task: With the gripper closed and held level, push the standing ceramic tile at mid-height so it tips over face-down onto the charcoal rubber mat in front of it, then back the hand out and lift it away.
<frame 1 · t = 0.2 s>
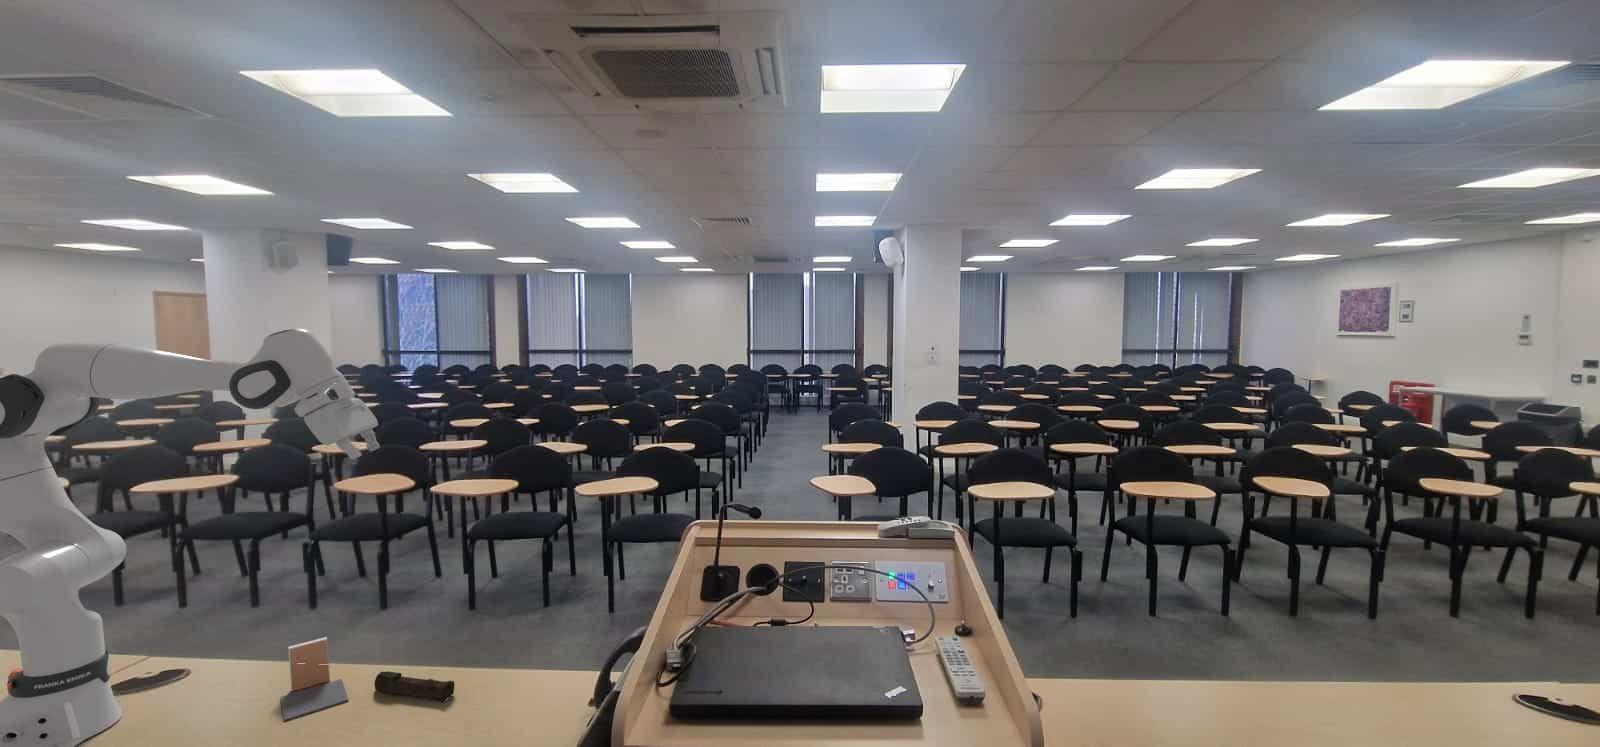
hand: (366, 453, 141), 54 cm above the table, tool tilted 30°, fingers open, 8 cm apart
mat: (314, 699, 143), on the table
tile: (310, 685, 149), on the table
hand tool: (410, 697, 144), on the table
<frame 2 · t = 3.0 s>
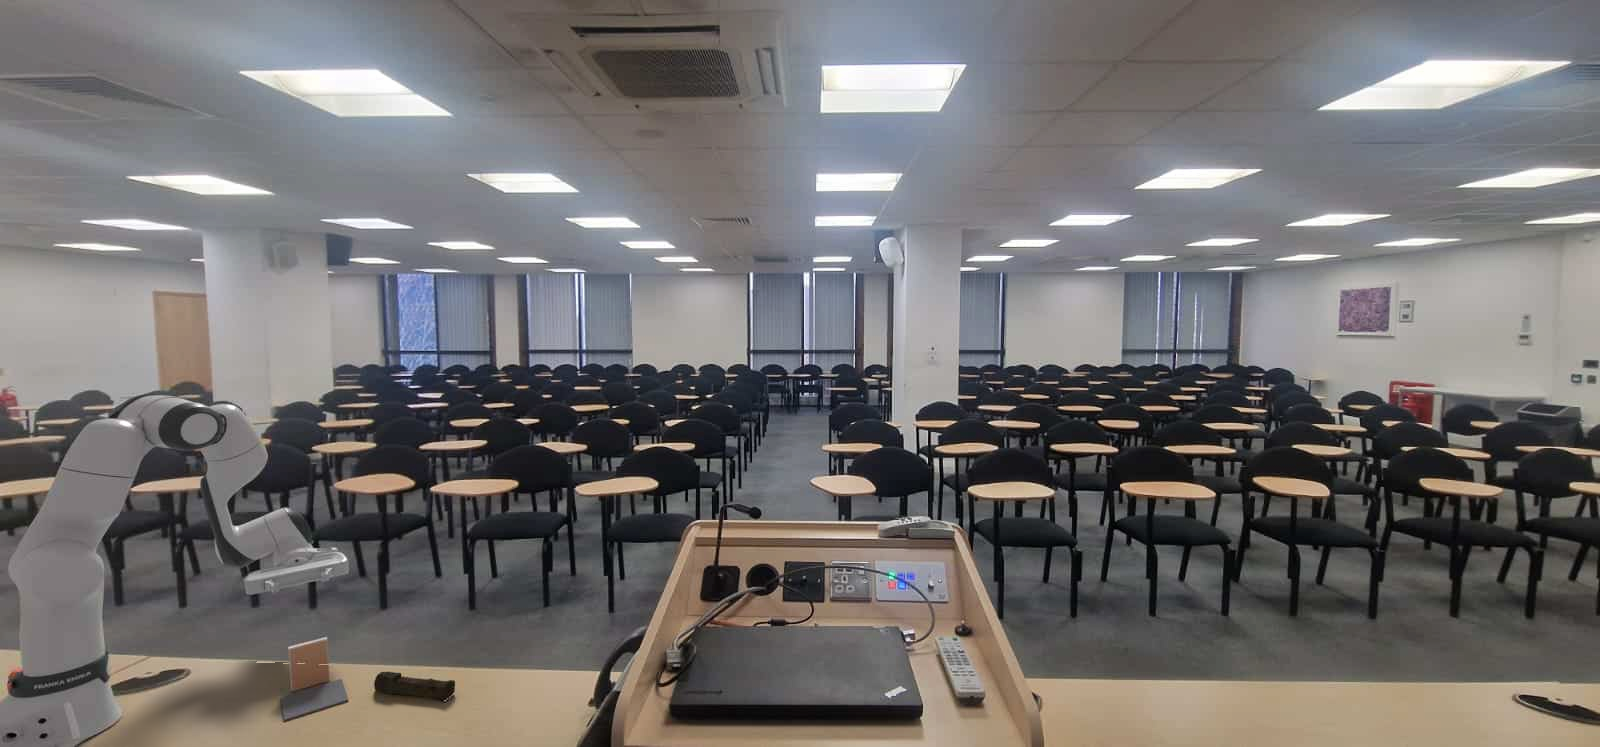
hand: (300, 583, 156), 20 cm above the table, tool horizontal, fingers open, 8 cm apart
nothing on the table moved.
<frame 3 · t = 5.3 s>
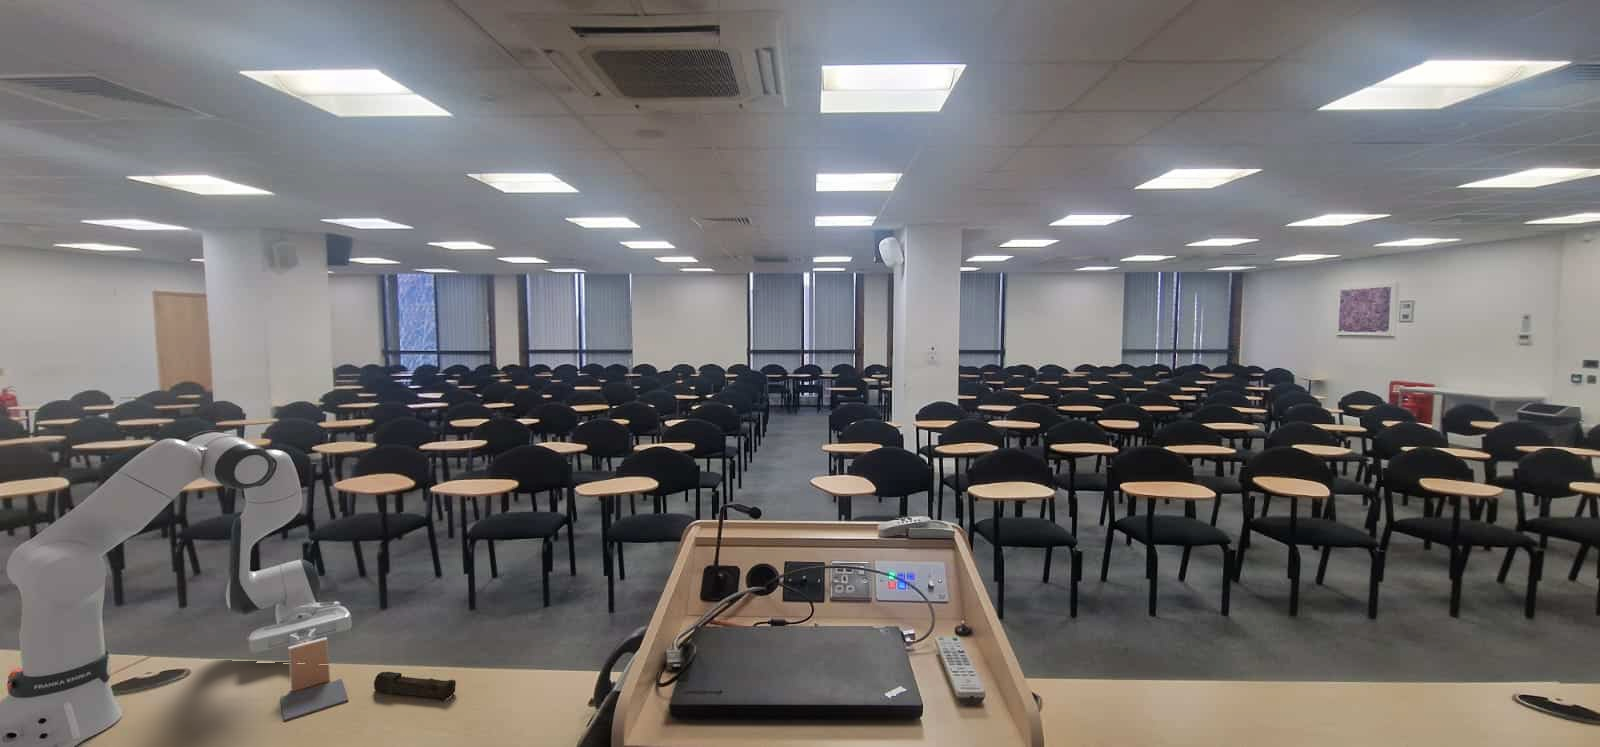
hand: (304, 641, 157), 6 cm above the table, tool horizontal, fingers closed
nothing on the table moved.
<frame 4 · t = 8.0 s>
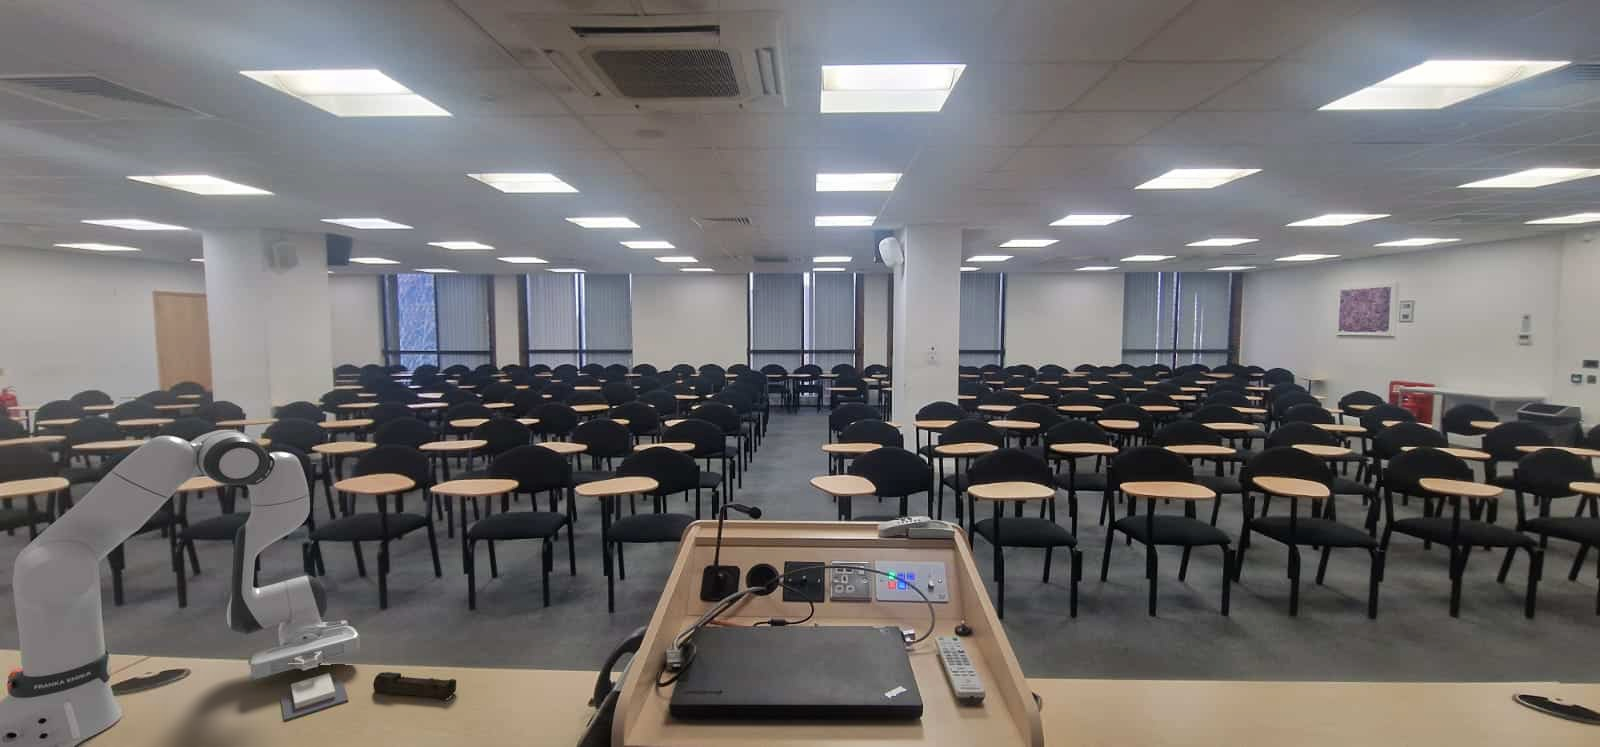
hand: (310, 665, 147), 6 cm above the table, tool horizontal, fingers closed
tile: (310, 681, 148), point 1 cm above the table, tilted 90°, touching mat
everything else where it was.
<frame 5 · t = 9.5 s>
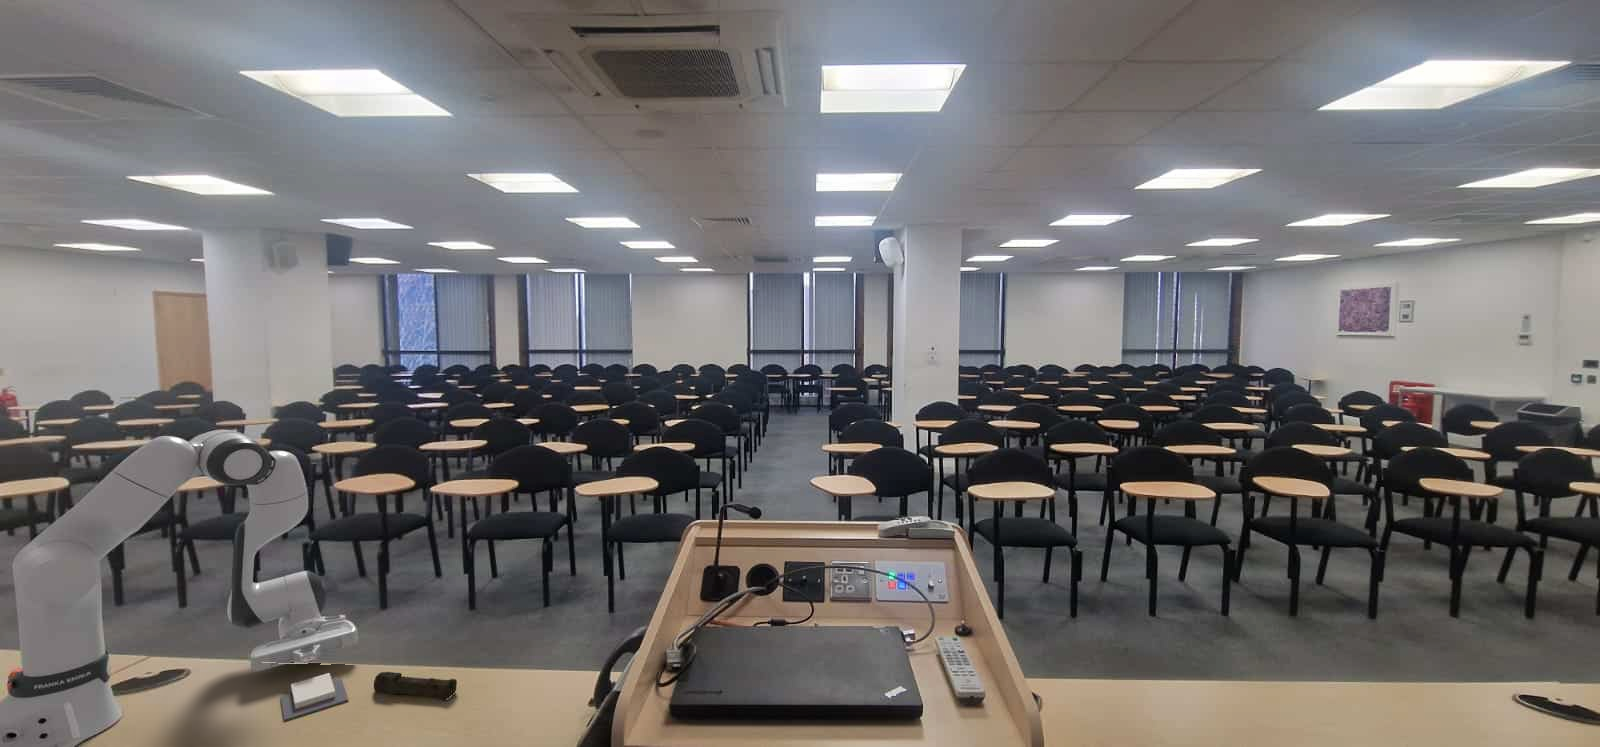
hand: (308, 658, 149), 6 cm above the table, tool horizontal, fingers closed
nothing on the table moved.
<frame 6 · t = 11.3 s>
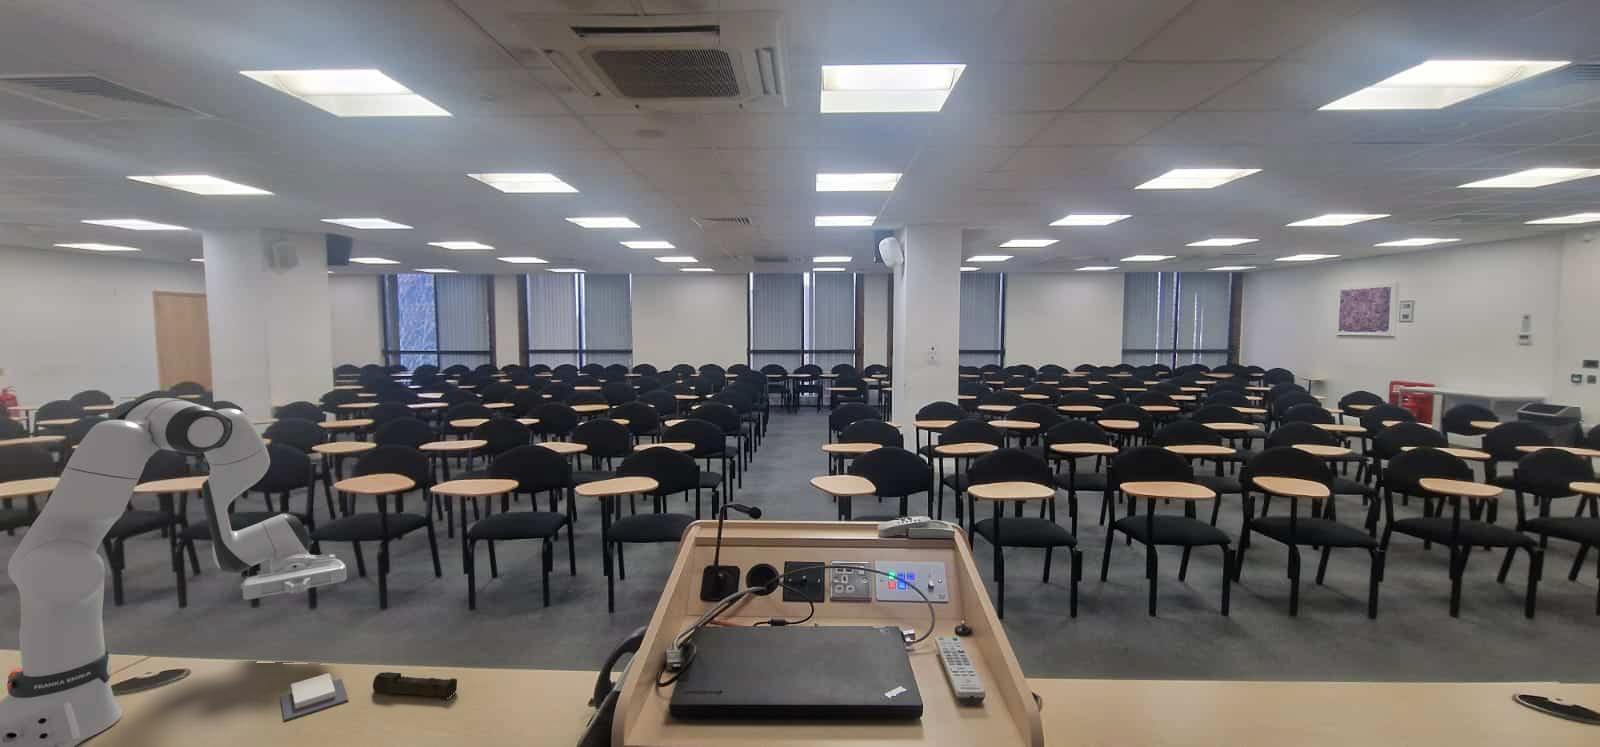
hand: (298, 589, 156), 19 cm above the table, tool horizontal, fingers closed
nothing on the table moved.
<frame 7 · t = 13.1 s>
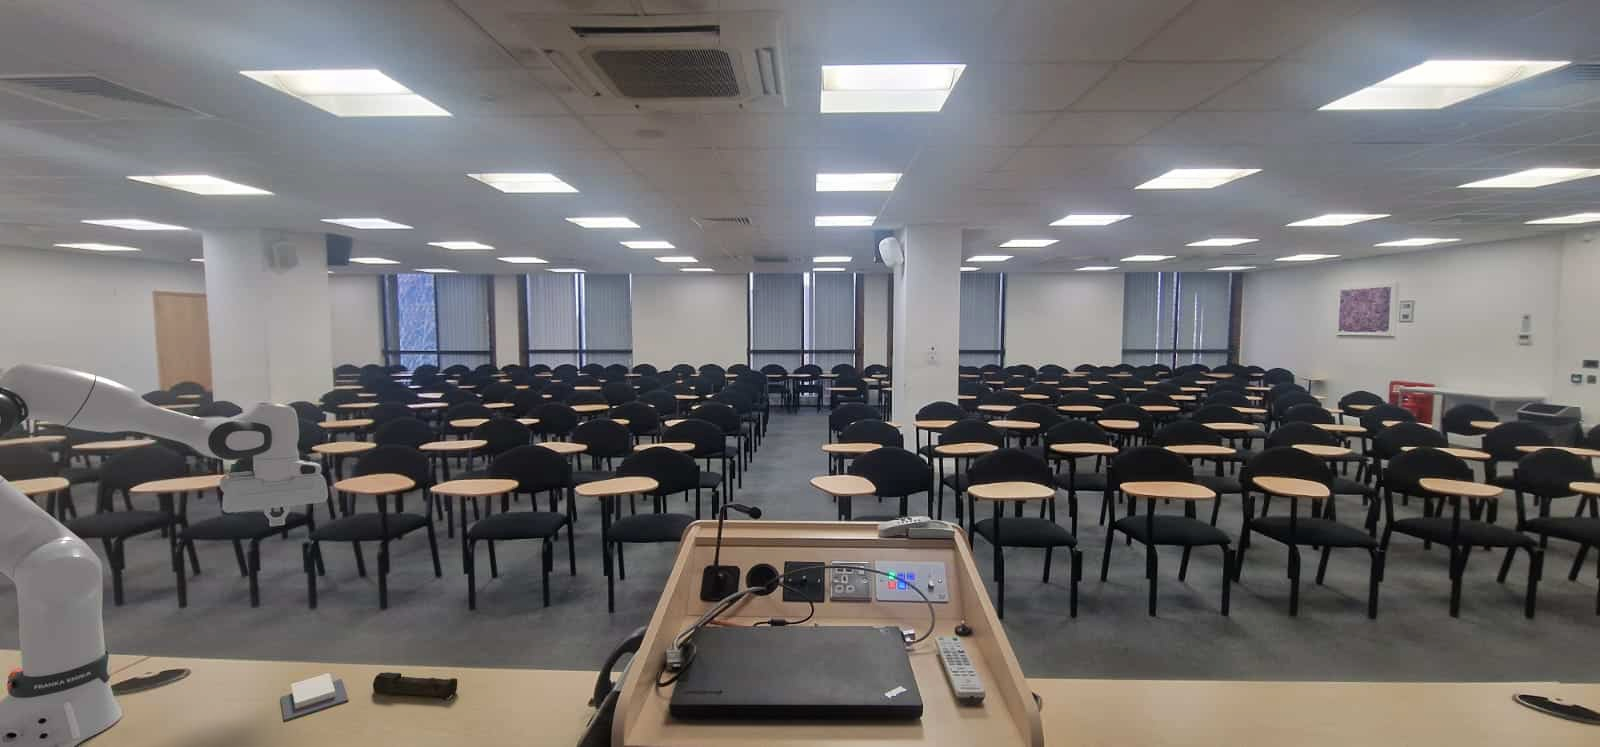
hand: (277, 525, 160), 33 cm above the table, tool pointing down, fingers closed
nothing on the table moved.
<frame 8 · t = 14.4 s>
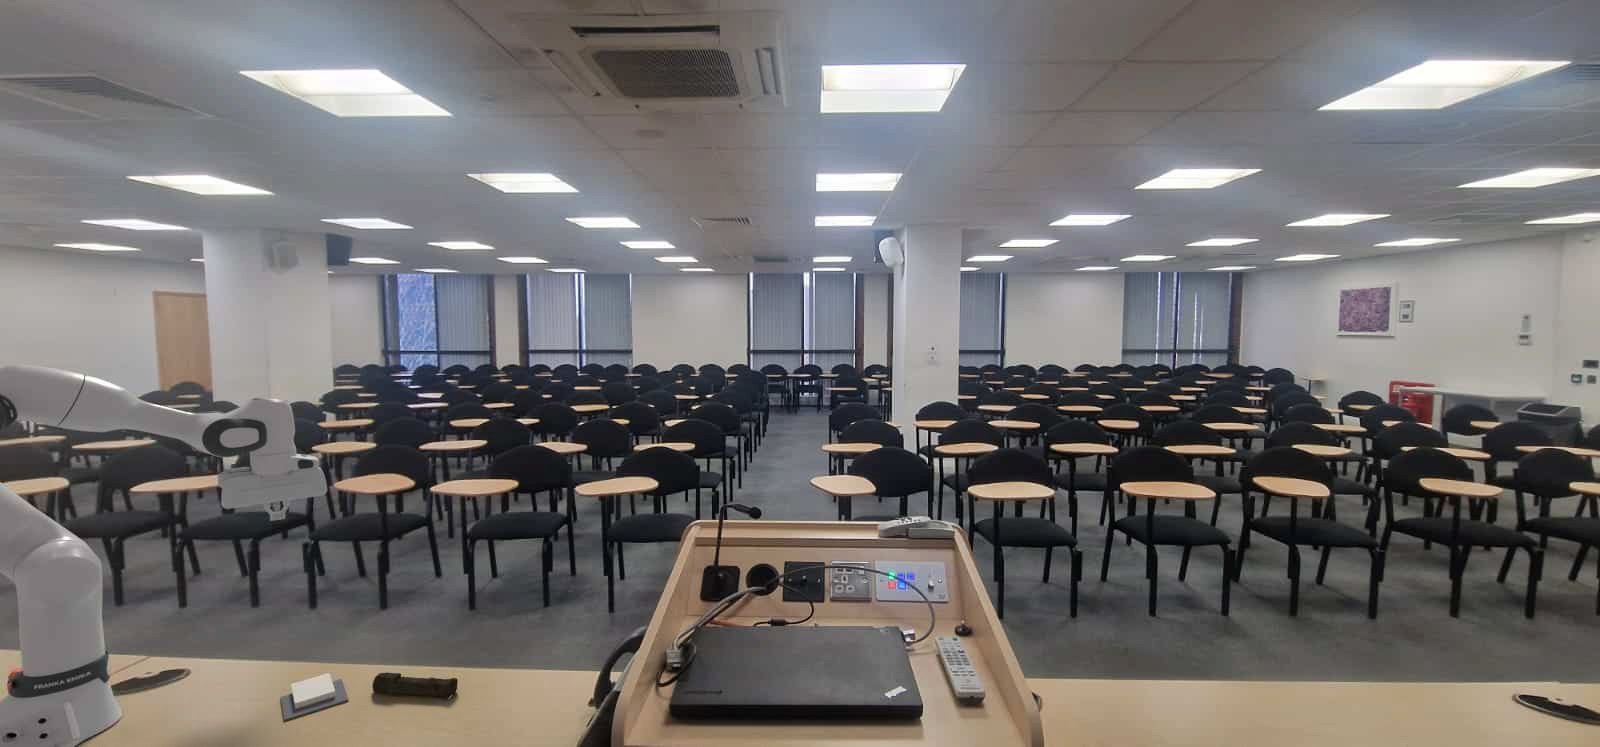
hand: (277, 519, 161), 34 cm above the table, tool pointing down, fingers closed
nothing on the table moved.
at the end: tile tilted 90°; tile touching mat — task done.
